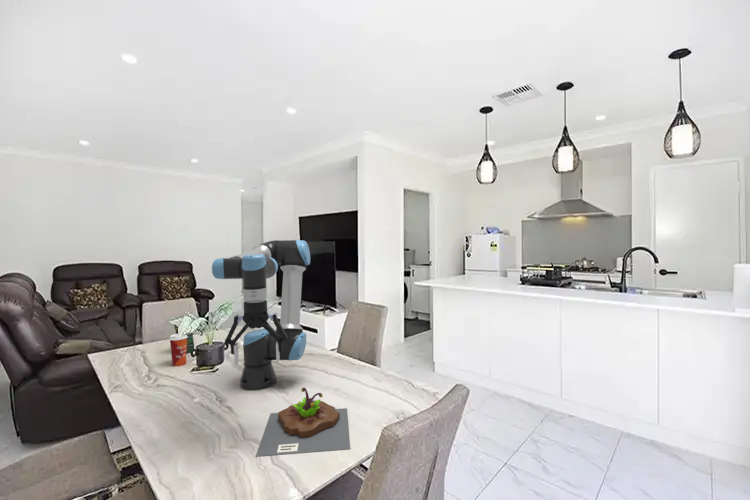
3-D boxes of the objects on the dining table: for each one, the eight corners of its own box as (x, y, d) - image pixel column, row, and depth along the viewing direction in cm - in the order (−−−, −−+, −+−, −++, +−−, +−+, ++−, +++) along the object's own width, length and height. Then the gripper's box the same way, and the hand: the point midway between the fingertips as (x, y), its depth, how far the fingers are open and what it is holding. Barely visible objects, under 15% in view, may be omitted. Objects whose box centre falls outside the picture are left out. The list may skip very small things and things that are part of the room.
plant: (317, 401, 142) (316, 373, 142) (347, 420, 127) (347, 389, 127) (268, 419, 129) (268, 388, 129) (296, 443, 114) (295, 408, 114)
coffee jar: (177, 355, 199) (176, 322, 198) (173, 352, 205) (172, 319, 204) (196, 351, 205) (195, 319, 205) (192, 348, 211) (191, 316, 210)
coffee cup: (180, 367, 181) (179, 337, 180) (166, 366, 183) (165, 337, 182) (192, 361, 189) (191, 333, 188) (178, 360, 191) (177, 332, 190)
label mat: (255, 456, 108) (255, 456, 108) (270, 413, 134) (270, 413, 134) (350, 449, 111) (350, 448, 111) (347, 408, 137) (347, 407, 137)
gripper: (213, 304, 117) (215, 368, 119) (292, 301, 121) (294, 363, 122) (219, 299, 125) (222, 360, 126) (294, 296, 128) (295, 355, 130)
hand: (257, 362), depth 124 cm, fingers open, 13 cm apart
